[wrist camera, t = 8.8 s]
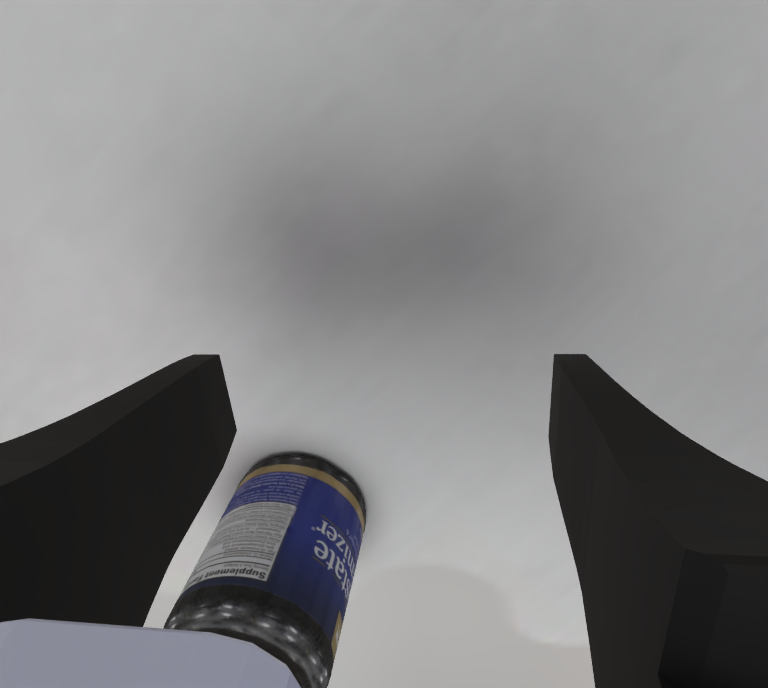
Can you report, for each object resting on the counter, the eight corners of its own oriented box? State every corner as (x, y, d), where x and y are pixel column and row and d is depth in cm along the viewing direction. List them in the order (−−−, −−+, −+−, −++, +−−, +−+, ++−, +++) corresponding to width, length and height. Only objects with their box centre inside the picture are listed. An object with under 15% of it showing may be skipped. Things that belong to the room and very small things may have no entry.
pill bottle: (382, 544, 28) (333, 815, 18) (265, 554, 29) (163, 811, 20) (346, 440, 25) (266, 693, 16) (220, 457, 27) (75, 698, 17)
